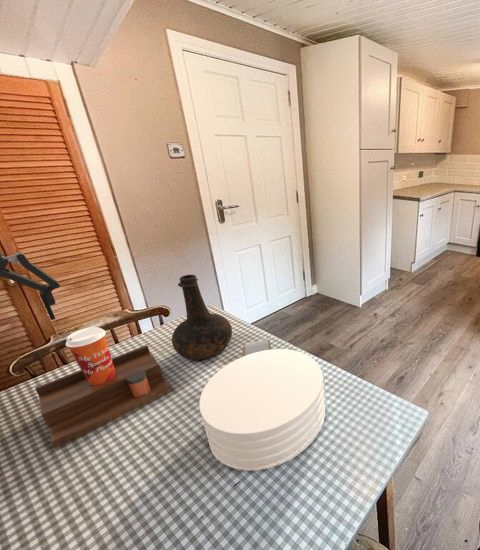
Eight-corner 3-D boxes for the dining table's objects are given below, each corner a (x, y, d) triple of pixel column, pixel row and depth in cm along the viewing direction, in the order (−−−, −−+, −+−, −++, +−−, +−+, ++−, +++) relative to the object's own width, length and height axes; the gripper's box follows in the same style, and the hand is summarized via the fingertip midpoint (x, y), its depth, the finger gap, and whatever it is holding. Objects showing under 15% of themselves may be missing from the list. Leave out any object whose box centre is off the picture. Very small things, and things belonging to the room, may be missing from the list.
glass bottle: (234, 332, 115) (220, 262, 104) (235, 359, 100) (220, 281, 89) (180, 343, 108) (160, 270, 98) (173, 374, 93) (148, 292, 83)
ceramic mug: (246, 358, 100) (242, 338, 97) (272, 353, 103) (269, 334, 99) (244, 379, 91) (240, 359, 88) (273, 374, 93) (269, 353, 90)
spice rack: (49, 414, 79) (35, 387, 76) (154, 368, 96) (146, 344, 92) (56, 451, 69) (40, 422, 66) (172, 393, 86) (164, 367, 82)
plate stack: (267, 370, 95) (262, 339, 90) (344, 400, 83) (343, 366, 79) (182, 441, 71) (170, 404, 67) (274, 496, 60) (267, 455, 56)
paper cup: (90, 392, 77) (70, 346, 71) (79, 381, 80) (58, 336, 75) (126, 374, 83) (109, 330, 78) (113, 364, 87) (97, 322, 81)
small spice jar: (128, 397, 80) (122, 381, 78) (139, 385, 84) (134, 370, 82) (143, 397, 80) (138, 381, 78) (154, 386, 84) (149, 370, 82)
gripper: (-162, 256, 49) (-87, 363, 57) (52, 228, 66) (86, 314, 74) (-148, 247, 53) (-81, 347, 61) (48, 224, 71) (81, 304, 79)
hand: (10, 329), depth 68 cm, fingers open, 13 cm apart
